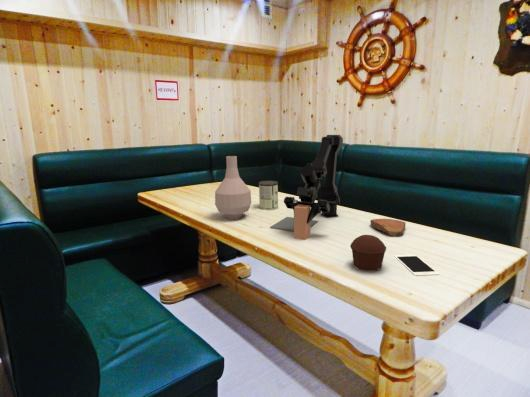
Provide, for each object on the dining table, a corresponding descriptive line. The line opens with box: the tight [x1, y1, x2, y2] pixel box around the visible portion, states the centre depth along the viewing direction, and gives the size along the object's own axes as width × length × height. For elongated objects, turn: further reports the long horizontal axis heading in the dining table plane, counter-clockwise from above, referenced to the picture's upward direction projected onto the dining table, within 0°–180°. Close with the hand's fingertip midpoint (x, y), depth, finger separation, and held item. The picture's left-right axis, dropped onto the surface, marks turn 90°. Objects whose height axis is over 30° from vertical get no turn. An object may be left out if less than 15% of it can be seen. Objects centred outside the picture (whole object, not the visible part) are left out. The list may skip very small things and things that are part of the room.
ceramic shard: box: [369, 218, 406, 237], centre depth 151 cm, size 15×6×15 cm
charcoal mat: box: [269, 216, 319, 233], centre depth 162 cm, size 18×16×1 cm
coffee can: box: [258, 180, 279, 211], centre depth 192 cm, size 10×10×14 cm
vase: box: [214, 155, 252, 220], centre depth 173 cm, size 18×18×30 cm
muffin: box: [349, 234, 387, 272], centre depth 116 cm, size 12×11×10 cm
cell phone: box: [394, 254, 440, 277], centre depth 117 cm, size 8×16×1 cm, turn 3°
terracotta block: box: [293, 204, 311, 241], centre depth 144 cm, size 5×5×13 cm
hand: (301, 222), depth 143 cm, fingers closed on terracotta block, 5 cm apart
